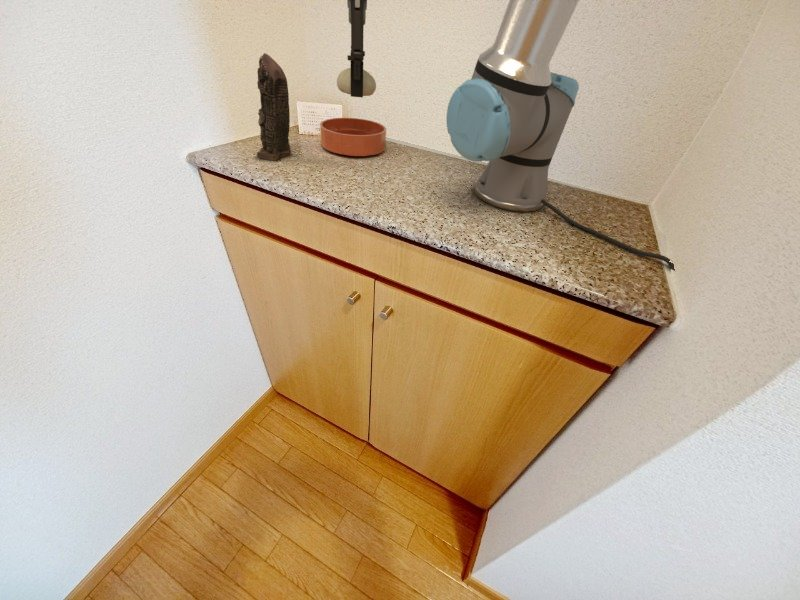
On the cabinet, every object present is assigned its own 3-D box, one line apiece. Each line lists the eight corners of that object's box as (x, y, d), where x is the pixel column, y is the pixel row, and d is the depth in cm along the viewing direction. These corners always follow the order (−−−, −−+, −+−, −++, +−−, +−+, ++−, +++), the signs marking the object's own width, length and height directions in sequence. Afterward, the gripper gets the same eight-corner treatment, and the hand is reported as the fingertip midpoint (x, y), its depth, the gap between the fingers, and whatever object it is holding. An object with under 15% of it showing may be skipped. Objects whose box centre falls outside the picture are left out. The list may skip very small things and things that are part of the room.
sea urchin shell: (379, 82, 79) (377, 56, 71) (374, 113, 79) (372, 90, 71) (342, 77, 79) (336, 50, 71) (338, 108, 79) (331, 84, 71)
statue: (269, 149, 81) (252, 49, 67) (296, 153, 80) (285, 54, 67) (256, 158, 75) (235, 51, 62) (285, 162, 75) (270, 56, 62)
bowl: (397, 151, 89) (399, 129, 86) (353, 163, 79) (353, 139, 75) (353, 135, 97) (353, 115, 93) (307, 145, 86) (305, 122, 82)
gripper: (339, -42, 69) (341, 82, 84) (334, -57, 53) (339, 100, 67) (374, -36, 70) (370, 85, 85) (380, -50, 54) (374, 103, 69)
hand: (356, 92), depth 76 cm, fingers closed on sea urchin shell, 9 cm apart
